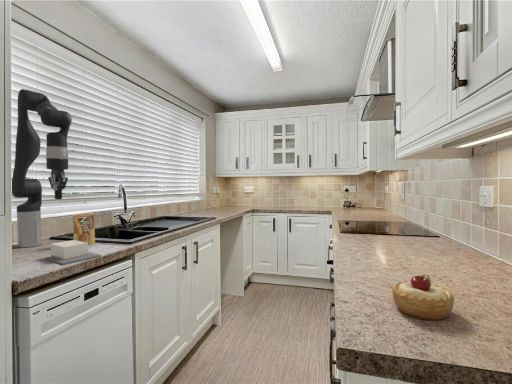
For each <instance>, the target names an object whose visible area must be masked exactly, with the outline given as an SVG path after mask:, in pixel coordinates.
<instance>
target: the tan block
mask: <svg viewBox="0 0 512 384" xmlns="http://www.w3.org/2000/svg"><path fill="white" fill-rule="evenodd" d="M49 245H50V257H51V256H53V257H56V258H59V259H63V260H66V259H71V258H76V257H80V256H85V255H88V252H89V245H88V243H86V242H81V241H77V240H67V241H60V242H59V241H58V242H53V243H50V244H49Z"/></svg>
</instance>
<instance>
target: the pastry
mask: <svg viewBox="0 0 512 384" xmlns="http://www.w3.org/2000/svg"><path fill="white" fill-rule="evenodd" d="M391 292H392V299H393V302H394V304H395V306H396V307H397V309H398V310H399V311H401V313H403V314H405V315H407V316H410V317H413V318H416V319H419V320H426V321H443V320H445V319H446V318H448V317H449V316H450V314H451V313H452V311H453V309H454V305H455V304H454V303H455V297H454V295H453V294H452V293H451V291H450V290H449V289H446V288H445V287H443V286H439V285H438V284H432V282H431V278H430V275H428V274H427V273H424V274H422V275H414V276H413V277H411V278H410V281H407V280H404V281H398V282H397V283H395V284H394V285H393V287H392V288H391Z"/></svg>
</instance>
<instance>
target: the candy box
mask: <svg viewBox="0 0 512 384" xmlns="http://www.w3.org/2000/svg"><path fill="white" fill-rule="evenodd" d="M95 233H96V232H95V213H93V212H91V213H79V214H77V213H76V214H72V234H73V235H72V237H73V238H72V239H73V240H77V241H81V242H86V243H88V246H89V245H95V244H96V236H95V235H96V234H95Z"/></svg>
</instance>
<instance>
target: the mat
mask: <svg viewBox="0 0 512 384" xmlns="http://www.w3.org/2000/svg"><path fill="white" fill-rule="evenodd" d="M100 257H102V254H99V253H95V252H90V251H88V255H85V256H80V257H76V258H71V259H66V260H63V259H59V258H56V257H53V256H51V255H50V256H47V257H45V258H44V259H45V260H46V261H50V262H53V263H57V264H58V265H59V264H60V265H62V266H65V265H69V264H73V263H80V262H82V261H87V260H91V259H96V258H100Z"/></svg>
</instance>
